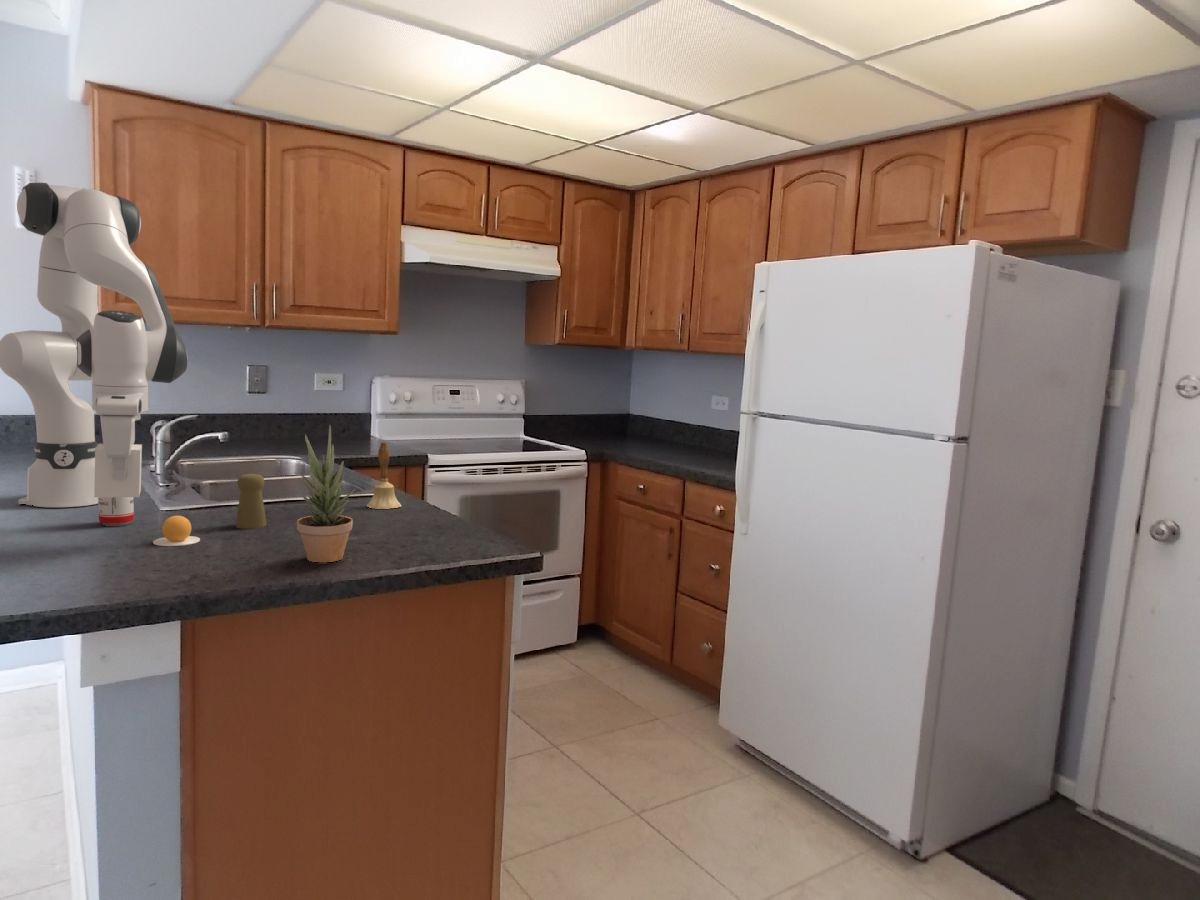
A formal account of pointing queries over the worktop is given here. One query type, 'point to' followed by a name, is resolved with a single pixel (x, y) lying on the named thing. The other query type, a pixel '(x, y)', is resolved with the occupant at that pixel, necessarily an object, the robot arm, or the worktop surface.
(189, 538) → the cream domed disc
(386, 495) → the hand bell
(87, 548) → the worktop surface
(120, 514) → the beer can
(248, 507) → the cork
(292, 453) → the worktop surface
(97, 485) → the cream cube
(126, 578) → the worktop surface
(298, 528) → the potted plant
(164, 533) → the ball
